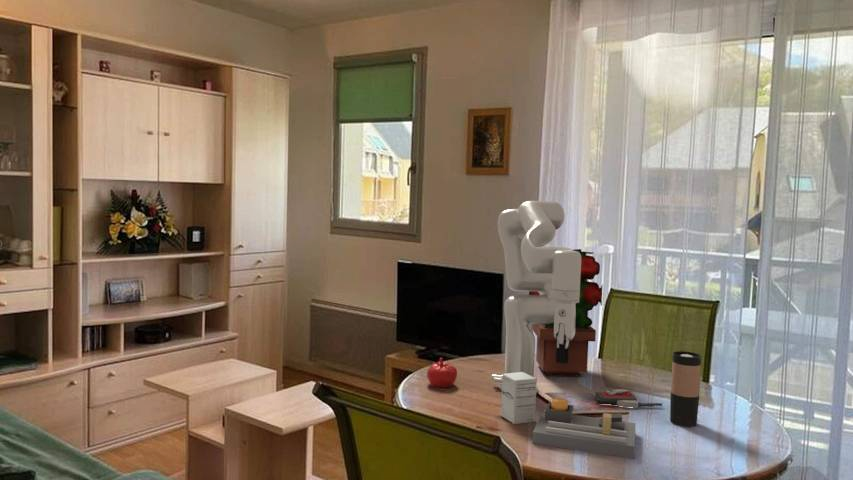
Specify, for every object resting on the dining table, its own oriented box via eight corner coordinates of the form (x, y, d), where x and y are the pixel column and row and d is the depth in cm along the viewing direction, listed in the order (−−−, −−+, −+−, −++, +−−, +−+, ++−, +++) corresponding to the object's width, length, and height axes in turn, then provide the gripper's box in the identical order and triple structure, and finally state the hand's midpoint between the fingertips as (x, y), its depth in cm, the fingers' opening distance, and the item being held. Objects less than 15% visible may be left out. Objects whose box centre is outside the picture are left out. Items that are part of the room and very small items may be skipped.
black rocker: (602, 422, 171) (601, 418, 171) (603, 418, 175) (602, 414, 175) (621, 422, 170) (621, 417, 170) (622, 417, 173) (621, 413, 173)
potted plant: (598, 380, 226) (604, 253, 223) (535, 378, 227) (540, 251, 224) (583, 364, 248) (588, 248, 245) (526, 362, 249) (530, 246, 246)
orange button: (550, 412, 175) (550, 401, 175) (552, 407, 180) (552, 397, 179) (566, 414, 174) (567, 403, 174) (568, 409, 178) (568, 399, 178)
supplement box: (499, 416, 186) (501, 373, 185) (521, 413, 189) (523, 371, 188) (513, 424, 179) (514, 380, 179) (535, 421, 182) (537, 377, 181)
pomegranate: (456, 390, 211) (458, 363, 210) (426, 389, 211) (427, 361, 210) (456, 381, 220) (457, 354, 220) (427, 380, 221) (428, 353, 220)
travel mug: (664, 418, 188) (668, 350, 187) (689, 418, 189) (693, 351, 188) (676, 427, 181) (680, 357, 180) (702, 427, 181) (706, 357, 180)
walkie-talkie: (599, 409, 196) (663, 410, 197) (599, 395, 196) (664, 396, 197) (590, 400, 205) (652, 401, 206) (591, 386, 205) (653, 387, 205)
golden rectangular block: (602, 436, 163) (602, 416, 163) (602, 431, 166) (603, 412, 166) (610, 437, 162) (611, 417, 162) (610, 433, 165) (611, 414, 165)
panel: (532, 443, 166) (533, 420, 165) (542, 421, 183) (543, 400, 183) (633, 458, 158) (635, 434, 158) (635, 433, 175) (636, 412, 175)
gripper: (576, 301, 166) (573, 370, 167) (581, 293, 180) (578, 357, 182) (547, 298, 168) (544, 367, 170) (554, 290, 183) (551, 354, 184)
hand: (562, 362), depth 176 cm, fingers closed
